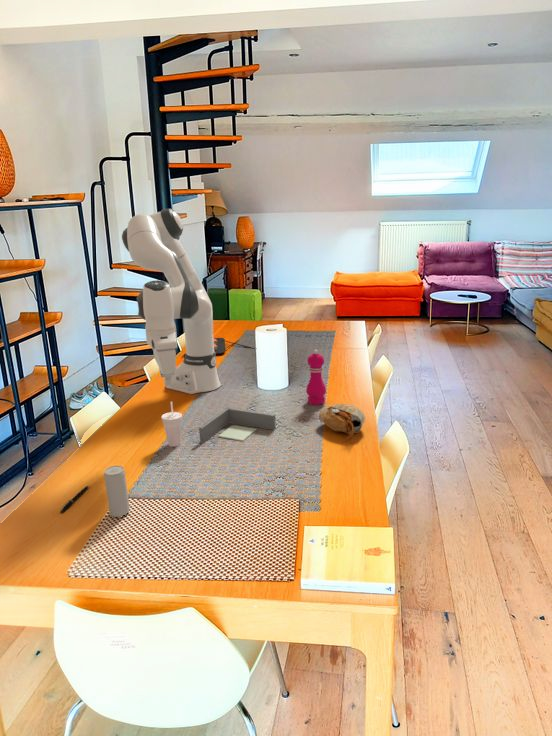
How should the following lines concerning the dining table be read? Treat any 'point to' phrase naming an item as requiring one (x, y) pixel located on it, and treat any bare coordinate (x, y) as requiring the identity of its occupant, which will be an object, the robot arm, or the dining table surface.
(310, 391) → the pepper mill
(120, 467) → the beverage can
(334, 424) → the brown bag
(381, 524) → the dining table surface
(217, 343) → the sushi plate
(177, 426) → the smoothie
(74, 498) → the fountain pen
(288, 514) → the dining table surface
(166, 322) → the robot arm
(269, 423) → the grey corner wall
